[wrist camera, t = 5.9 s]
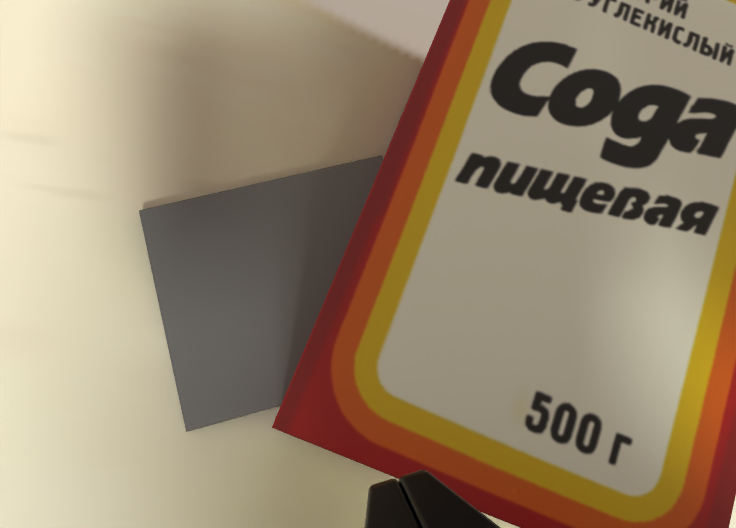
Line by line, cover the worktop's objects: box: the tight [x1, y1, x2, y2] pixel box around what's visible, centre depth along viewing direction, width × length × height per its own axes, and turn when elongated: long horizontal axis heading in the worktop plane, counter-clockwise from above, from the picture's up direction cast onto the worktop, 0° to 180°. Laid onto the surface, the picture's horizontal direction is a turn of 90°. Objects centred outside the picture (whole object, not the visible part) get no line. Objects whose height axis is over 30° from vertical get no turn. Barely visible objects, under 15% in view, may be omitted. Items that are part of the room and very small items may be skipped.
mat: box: [139, 155, 383, 432], centre depth 20 cm, size 7×8×1 cm
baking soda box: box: [272, 0, 736, 528], centre depth 18 cm, size 10×6×16 cm
